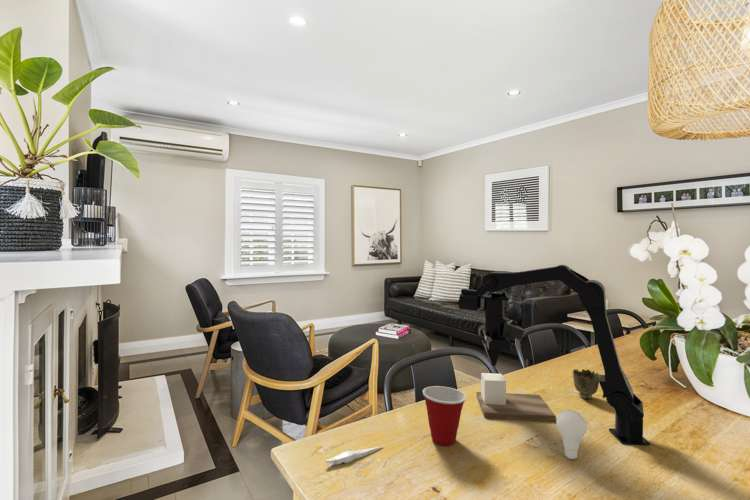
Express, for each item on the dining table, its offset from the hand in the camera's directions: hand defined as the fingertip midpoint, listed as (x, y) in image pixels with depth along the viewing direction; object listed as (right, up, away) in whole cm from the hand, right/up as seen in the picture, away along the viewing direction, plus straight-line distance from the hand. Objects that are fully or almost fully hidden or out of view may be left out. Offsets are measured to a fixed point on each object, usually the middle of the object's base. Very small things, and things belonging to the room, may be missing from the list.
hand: (493, 365), depth 112 cm
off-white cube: (0, -10, 0) cm, 10 cm away
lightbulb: (+9, -13, -27) cm, 31 cm away
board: (+5, -12, -2) cm, 13 cm away
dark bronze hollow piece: (+31, -12, +5) cm, 33 cm away
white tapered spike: (-40, -13, -26) cm, 50 cm away
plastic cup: (-18, -13, -19) cm, 30 cm away
